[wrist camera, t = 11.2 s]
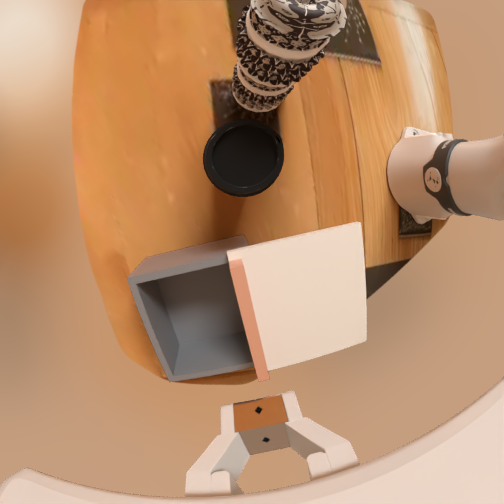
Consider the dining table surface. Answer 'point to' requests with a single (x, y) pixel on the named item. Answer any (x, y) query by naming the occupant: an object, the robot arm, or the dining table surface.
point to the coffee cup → (243, 157)
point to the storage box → (193, 310)
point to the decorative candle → (280, 47)
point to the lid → (301, 295)
